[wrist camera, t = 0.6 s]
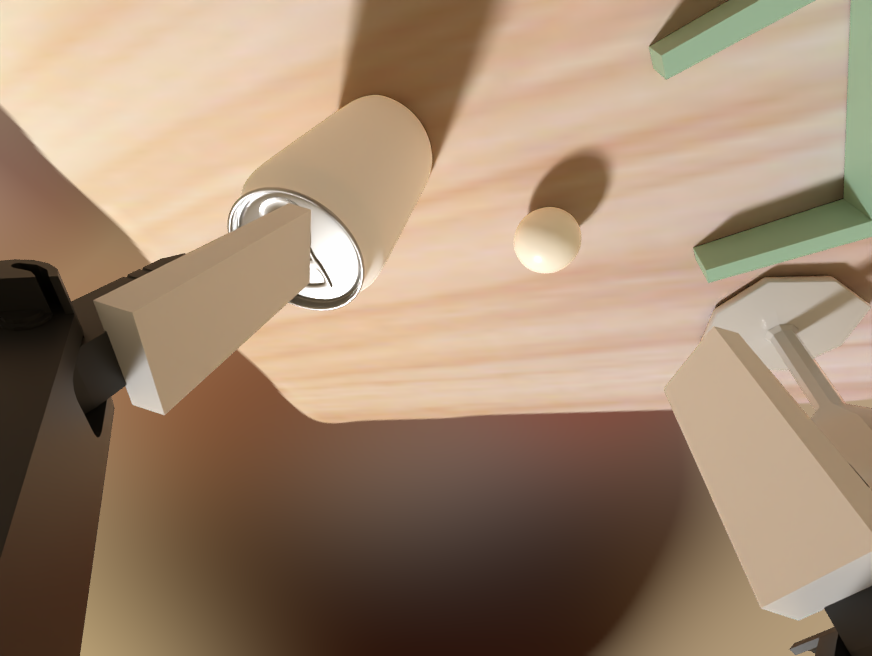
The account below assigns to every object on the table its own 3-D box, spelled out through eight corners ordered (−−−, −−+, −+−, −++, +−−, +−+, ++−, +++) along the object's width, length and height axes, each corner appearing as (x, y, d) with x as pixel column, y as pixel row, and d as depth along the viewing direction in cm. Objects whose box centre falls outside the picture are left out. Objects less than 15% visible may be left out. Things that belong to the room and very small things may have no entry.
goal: (696, 259, 24) (708, 282, 22) (648, 46, 18) (661, 55, 16) (867, 206, 20) (899, 228, 18) (891, -95, 14) (944, -104, 12)
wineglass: (784, 374, 29) (1040, 794, 14) (674, 347, 29) (814, 732, 15) (899, 289, 23) (1561, 873, 8) (758, 255, 23) (1151, 762, 8)
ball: (521, 191, 23) (519, 222, 20) (587, 199, 23) (594, 232, 20) (510, 247, 26) (507, 280, 23) (568, 255, 26) (572, 290, 23)
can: (421, 82, 20) (338, 164, 12) (442, 196, 25) (393, 316, 16) (317, 103, 22) (180, 187, 14) (354, 206, 26) (267, 319, 18)
